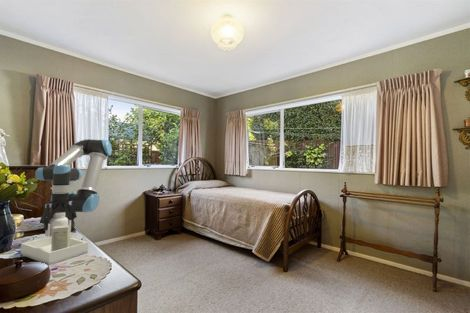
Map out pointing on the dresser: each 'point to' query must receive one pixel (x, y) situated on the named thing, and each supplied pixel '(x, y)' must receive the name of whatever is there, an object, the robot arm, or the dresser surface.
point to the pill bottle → (58, 221)
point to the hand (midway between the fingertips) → (58, 233)
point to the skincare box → (60, 237)
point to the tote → (42, 251)
